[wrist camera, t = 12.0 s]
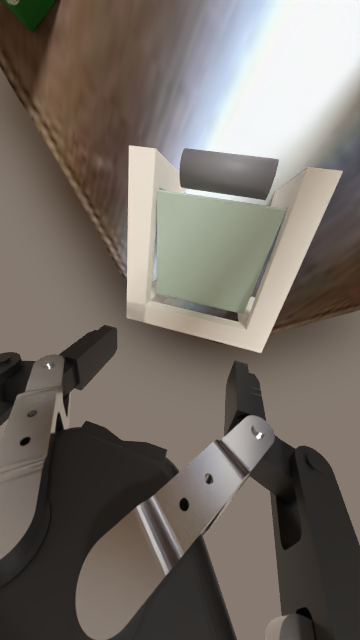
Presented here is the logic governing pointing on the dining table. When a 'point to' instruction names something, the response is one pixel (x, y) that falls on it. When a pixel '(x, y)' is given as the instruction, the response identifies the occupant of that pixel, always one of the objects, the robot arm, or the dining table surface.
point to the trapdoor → (216, 230)
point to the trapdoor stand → (287, 255)
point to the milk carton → (29, 10)
